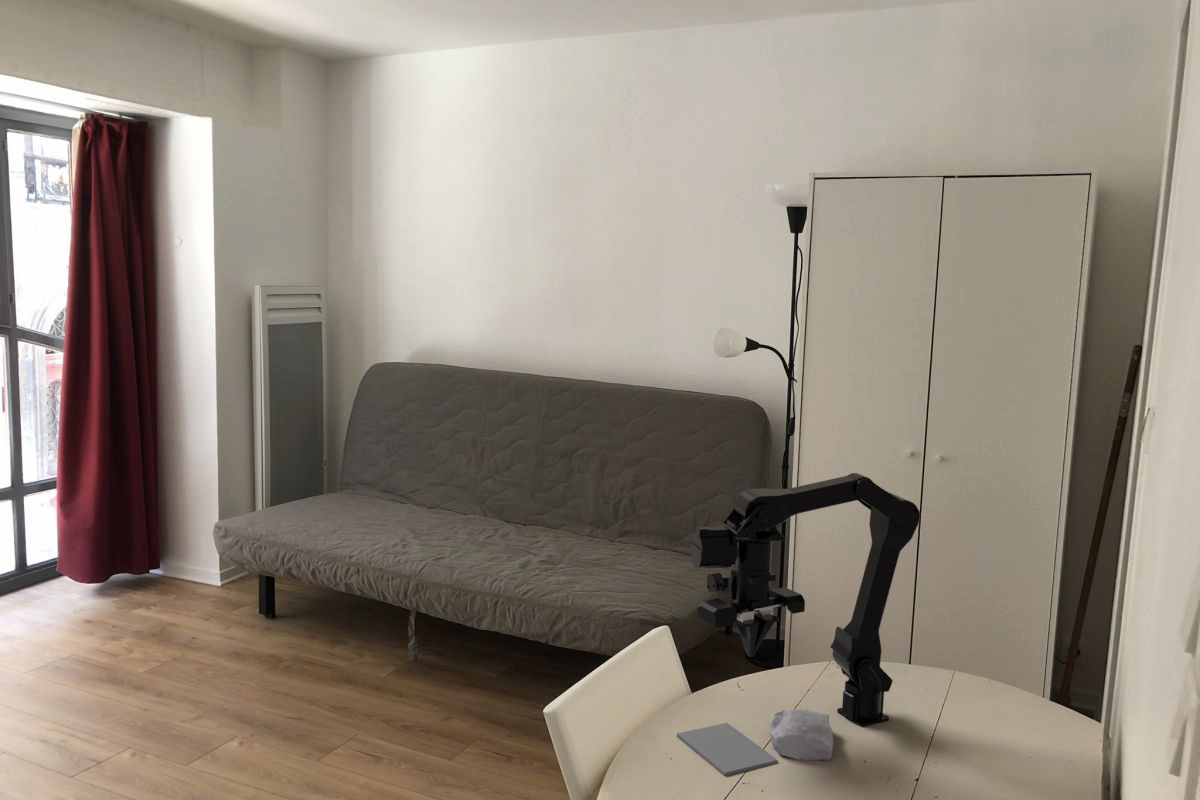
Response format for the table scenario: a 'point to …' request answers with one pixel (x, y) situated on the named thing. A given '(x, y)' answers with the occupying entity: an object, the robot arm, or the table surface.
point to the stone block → (802, 734)
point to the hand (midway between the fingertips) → (750, 655)
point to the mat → (726, 748)
